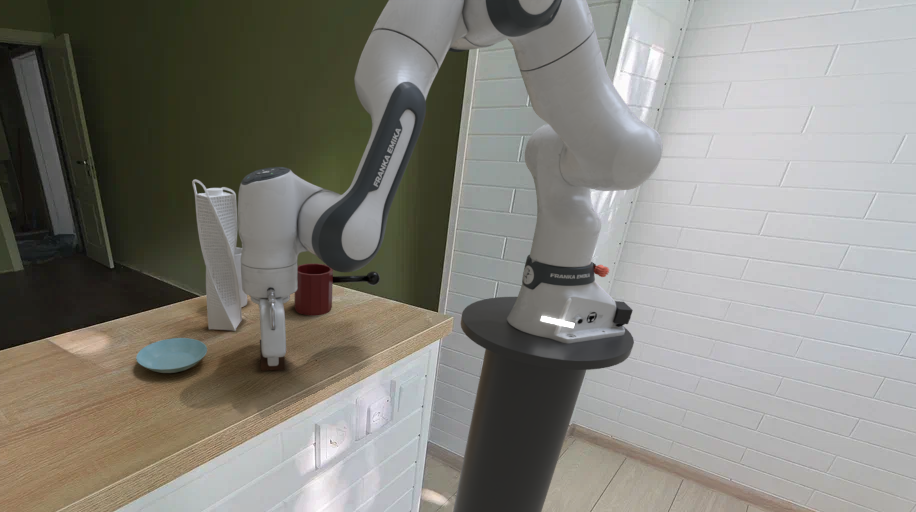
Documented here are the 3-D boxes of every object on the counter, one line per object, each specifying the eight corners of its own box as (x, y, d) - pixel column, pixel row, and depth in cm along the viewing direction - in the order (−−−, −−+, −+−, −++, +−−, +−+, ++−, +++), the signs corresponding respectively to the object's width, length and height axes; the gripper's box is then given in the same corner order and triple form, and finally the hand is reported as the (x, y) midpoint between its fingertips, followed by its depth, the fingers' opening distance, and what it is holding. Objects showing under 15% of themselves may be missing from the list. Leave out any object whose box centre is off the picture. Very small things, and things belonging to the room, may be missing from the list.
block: (283, 358, 85) (282, 338, 83) (284, 369, 81) (284, 348, 79) (260, 359, 84) (259, 339, 83) (261, 371, 81) (260, 349, 79)
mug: (224, 297, 112) (220, 246, 106) (252, 299, 111) (249, 247, 105) (208, 314, 103) (203, 259, 97) (238, 316, 102) (235, 260, 96)
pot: (373, 299, 111) (376, 261, 106) (382, 313, 104) (385, 272, 99) (293, 302, 109) (293, 263, 105) (296, 316, 102) (296, 275, 98)
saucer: (131, 382, 77) (129, 370, 76) (145, 350, 88) (143, 338, 87) (205, 379, 78) (204, 367, 77) (210, 347, 89) (209, 336, 88)
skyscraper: (199, 331, 95) (183, 181, 82) (211, 316, 102) (198, 176, 89) (238, 333, 94) (228, 182, 81) (248, 318, 101) (240, 177, 88)
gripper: (295, 301, 67) (295, 386, 73) (285, 260, 85) (286, 331, 91) (249, 303, 66) (254, 389, 73) (249, 261, 84) (253, 332, 91)
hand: (272, 356), depth 82 cm, fingers closed on block, 4 cm apart
